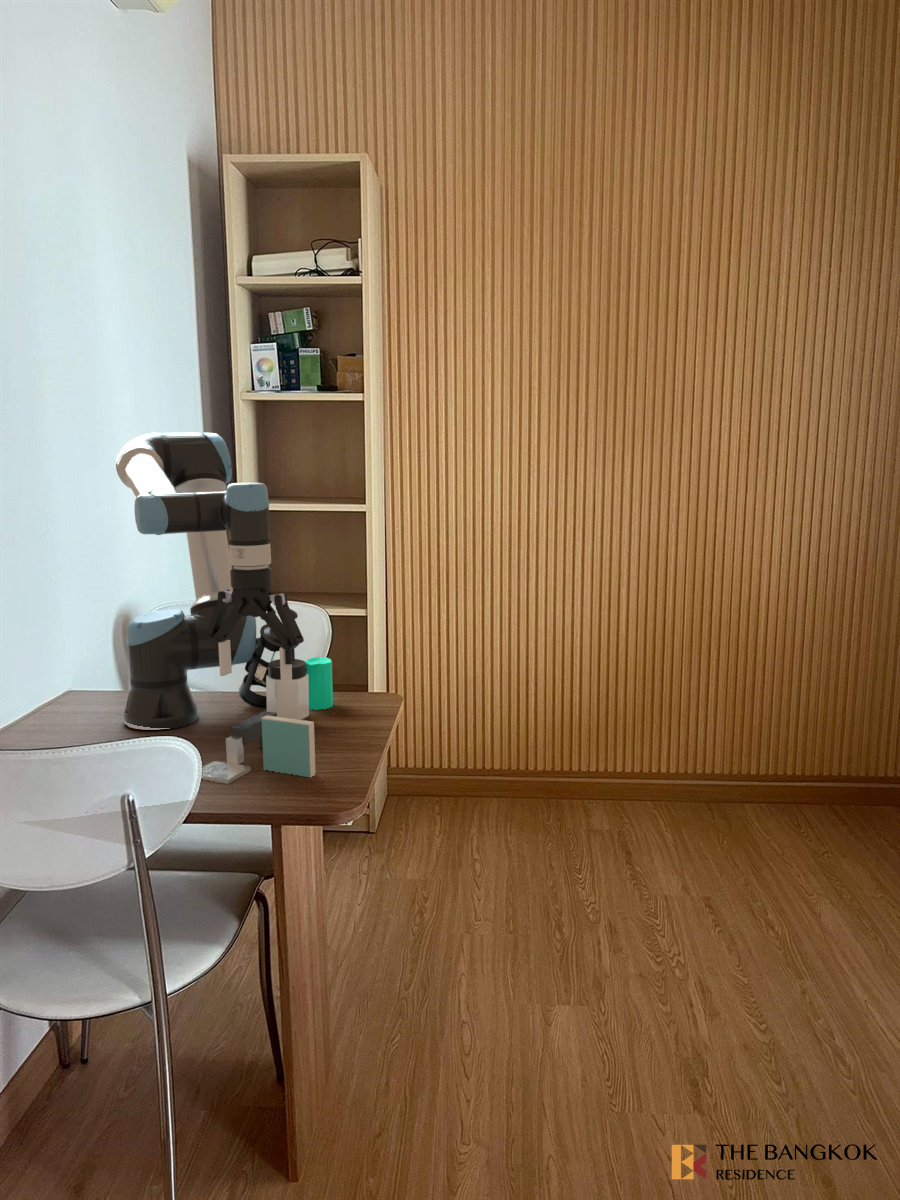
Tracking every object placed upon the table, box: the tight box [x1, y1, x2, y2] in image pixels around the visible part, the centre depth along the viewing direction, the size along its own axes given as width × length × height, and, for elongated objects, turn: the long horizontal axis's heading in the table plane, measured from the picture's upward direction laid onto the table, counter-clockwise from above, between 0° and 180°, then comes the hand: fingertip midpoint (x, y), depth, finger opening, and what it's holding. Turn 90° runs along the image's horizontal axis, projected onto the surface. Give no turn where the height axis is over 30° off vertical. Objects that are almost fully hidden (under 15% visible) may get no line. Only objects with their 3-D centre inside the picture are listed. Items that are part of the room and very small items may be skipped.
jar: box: [265, 658, 310, 720], centre depth 206 cm, size 9×8×12 cm
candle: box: [305, 655, 334, 711], centre depth 215 cm, size 6×6×12 cm
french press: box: [238, 608, 300, 710], centre depth 212 cm, size 12×9×23 cm
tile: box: [262, 715, 317, 778], centre depth 174 cm, size 2×10×10 cm, turn 67°
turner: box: [202, 710, 277, 785], centre depth 180 cm, size 20×8×7 cm, turn 157°
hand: (255, 677), depth 182 cm, fingers open, 13 cm apart
